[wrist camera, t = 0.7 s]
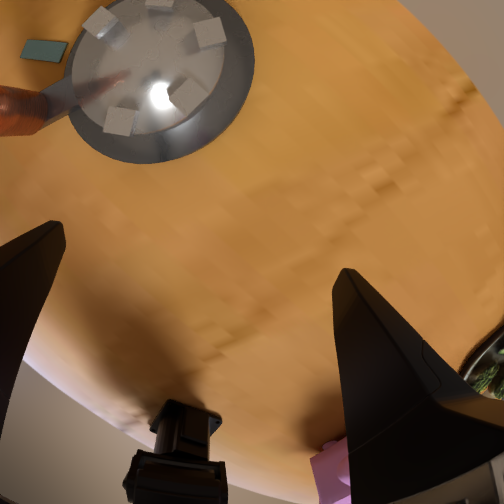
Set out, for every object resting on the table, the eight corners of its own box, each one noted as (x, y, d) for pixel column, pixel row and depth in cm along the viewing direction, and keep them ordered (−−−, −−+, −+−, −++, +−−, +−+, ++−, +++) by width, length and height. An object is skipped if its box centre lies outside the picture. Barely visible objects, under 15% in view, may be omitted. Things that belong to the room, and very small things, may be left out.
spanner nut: (207, -13, 15) (193, -120, 4) (242, 109, 19) (259, 62, 8) (19, 69, 16) (-85, 49, 5) (41, 182, 19) (-72, 222, 8)
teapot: (322, 409, 31) (347, 487, 21) (418, 395, 32) (456, 455, 22) (298, 473, 36) (311, 534, 26) (379, 460, 37) (401, 513, 27)
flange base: (191, 194, 23) (187, 199, 21) (1, 96, 18) (-12, 95, 16) (287, 40, 19) (292, 31, 17) (79, -34, 14) (70, -43, 13)
